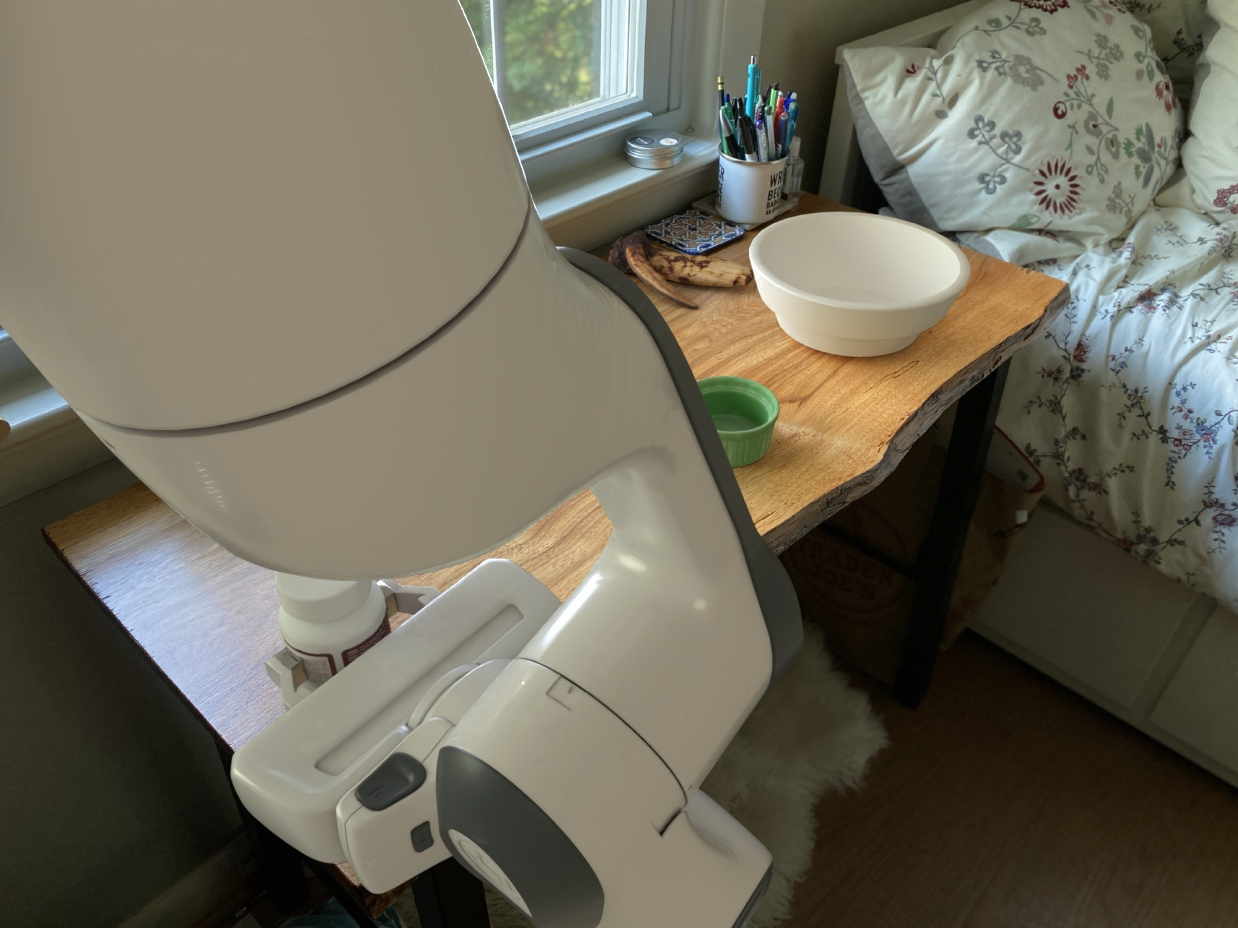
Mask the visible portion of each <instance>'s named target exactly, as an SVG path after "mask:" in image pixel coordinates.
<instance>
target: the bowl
mask: <svg viewBox="0 0 1238 928" xmlns="http://www.w3.org/2000/svg"><path fill="white" fill-rule="evenodd" d="M748 254H749V255H748V257H749V261H750V265H751V269H752V270H753V273H754V280H755V284H756V287H757V290H758V293H759V295H760V299H761V300H762V302H763V303H764V304H765V305H766V306H767V308H768V309H769V310H770V311H772V312H773V313H774V315H775V318H776V320H777V322H778V325H779V327H780V328H781V329H782V331H783V332H784V333H785V334H786V335H788V337H790V338H791V339H792V340H794V341H795V342H798V343H799V344H801V345H803V346H805V347H808V348H811V349H813V350H816V351H819V352H823V353H826V354H831V355H837V356H842V357H854V358H855V357H857V358H865V357H866V358H867V357H879V356H884V355H889V354H892V353H896V352H899V351H901V350H903V349H905V348H907V347H909V346H910V345H911V344H912V343H914V342H915V341H916V340H917V338H918V337H919V336H920V334H921V333H922V332H925V331H927V330H928V329H930V328H932V327H934V326H936V325H937V324H938V323H939V322H941V320H942V319H944V318H945V316H946V315H947V313H948V312H949V311H950V309H951V308H952V306H953V305H954V303H955V302H956V301H957V299H958V298H959V296H960V295H961V294H962V292H963V290H964V289H965V287H966V286H967V284H968V282H969V280H970V278H971V264H970V262H969V260H968V257H967V255H966V254H965V252H963V251H962V249H961V248H960V247H959V246H958V245H957V244H955V243H954V242H953V241H951V240H950V239H949V238H948V237H946V236H944V235H942V234H940V233H938V232H937V231H934V230H933V229H930V228H927V227H925V226H924V225H923V226H922V225H920V224H917V223H916V222H915V223H914V222H911V221H908V220H904V219H901V218H896V217H892V216H886V215H883V214H882V215H881V214H876V213H875V214H874V213H866V212H858V211H855V212H854V211H826V212H825V211H823V212H821V211H820V212H814V213H806V214H800V215H796V216H791V217H788V218H784V219H782V220H779V221H777V222H774V223H772V224H770V225H768V226H767V227H765V228H763V229H762V230H760V232H759V233H757V235H756V236H754V238H753V239H752V241H751V244H750V245H749V248H748Z"/></svg>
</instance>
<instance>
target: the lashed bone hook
mask: <svg viewBox="0 0 1238 928" xmlns="http://www.w3.org/2000/svg"><path fill="white" fill-rule="evenodd" d="M612 246H613V248H612V249H611V250H609V256H608V260H607V262H608V263H609V264H611V265H613V266H614V267H616V268H617V269H618V270H620V271H621V272H622V273H624V274H626V273H628V274H633V275H637V277H638V278H640V280H641V281H643V283H645V284H646V285H648V287H650V288H652V289H653V290H654V291H656V292H657V293H659V295H662V296H663V297H665V298H666V299H667V300H670V301H671V302H673V303H675V304H678V305H679V306H682V307H685V308H688V309H693V310H694V309H695V310H696V309H699V308H700V307H699V305H698V304H697V303H695V302H694V301H692V300H691V299H690V298H688V297H686V296H685V295H684V294H683V293H681V292H680V291H679V290H677V289H676V288H675V287H674V286H672V285H671V284H670V283H669V282H668V281H667V280H669V281H672V282H676V283H681V284H688V285H696V286H701V287H723V288H724V287H725V288H735V287H736V285H737V284H739V285H740V287H742V288H746V287H747V286H749V285H750V284H751V282H752V281H753V280H755V276H754V273H753V269H752V267H749V266H748V265H746V264H744V263H741V262H737V261H733V260H728V259H724V258H718V257H715V256H707V255H702V254H696V255H694V254H693V255H692V254H685V253H681V252H675V251H666V250H665V249H663V248H660V247H653V245H652V243H651V242H650V240H649V239H648V238H647V234H646V232H645V231H644V230H642V229H638V230H635V231H634V232H633V233H631V234H630V235H625V236H620V237H618V238H617V239H616V240H615V241H614V242H612Z"/></svg>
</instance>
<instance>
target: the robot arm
mask: <svg viewBox="0 0 1238 928" xmlns="http://www.w3.org/2000/svg"><path fill="white" fill-rule="evenodd" d="M0 326H1V327H2V329H3V330H4V331H5V332H6V333H7V335H8V336H9V337H10V338H11V339H12V340H13V342H14V343H15V344H16V345H17V347H19V349H20V350H21V351H22V352H23V354H24V355H25V356H26V357H27V358H28V359H29V361H30V362H31V363H32V364H33V365H34V367H35V368H36V369H37V370H38V371H39V372H40V373H41V375H42V376H43V377H44V378H45V379H46V380H47V382H48V383H49V384H50V386H52V388H54V390H55V391H56V392H57V394H59V396H60V397H61V398H62V399H64V400H65V402H66V403H67V404H68V406H70V407H71V409H72V410H73V412H74V413H76V415H77V416H78V417H79V418H80V419H81V420H82V422H83V423H84V425H86V426H87V427H88V428H89V429H90V431H92V432H93V434H94V435H95V436H96V437H97V438H98V439H99V440H100V441H101V443H103V444H104V445H105V446H106V448H107V449H109V450H110V451H111V453H112V454H113V455H114V456H115V457H116V458H117V459H118V460H119V461H120V462H121V463H122V464H123V465H124V466H125V467H126V468H127V469H128V470H129V471H131V472H132V473H133V474H134V475H135V476H136V477H137V478H138V479H139V480H140V481H141V482H142V483H143V484H144V485H145V486H146V487H147V488H149V489H150V490H151V491H152V492H153V493H154V494H155V495H156V496H157V497H158V498H160V499H161V500H162V501H163V502H164V503H165V504H166V505H168V506H169V507H170V508H171V509H172V510H174V511H175V512H176V513H177V514H178V515H179V516H181V518H183V519H184V520H185V521H187V522H188V523H189V524H190V525H192V526H193V527H194V528H195V529H196V530H198V531H199V532H200V533H202V534H203V535H204V536H206V537H207V538H209V539H210V540H211V541H212V542H214V544H216V545H217V546H219V547H220V548H222V549H223V550H225V551H226V552H228V553H229V554H231V555H233V556H235V557H237V558H239V559H240V560H243V561H245V562H248V563H250V564H252V565H255V566H258V567H261V568H263V569H267V570H272V571H274V572H276V571H278V572H282V573H287V574H292V575H296V576H301V577H307V578H314V579H322V580H333V581H372V580H374V581H375V582H376V583H377V584H378V585H379V587H380V588H381V590H382V592H383V595H384V599H385V602H386V607H387V613H388V618H389V619H390V618H392V617H393V616H394V615H396V614H398V613H401V614H407V615H411V616H410V617H409V618H408V619H406V620H405V621H403V622H402V623H401V624H399V625H398V626H397V627H395V628H394V629H393V630H391V633H389V634H388V635H387V636H386V637H384V638H383V639H382V640H380V641H379V642H378V643H376V644H375V645H374V646H372V647H371V648H370V649H369V650H367V651H366V652H365V653H363V654H362V655H361V656H359V657H358V658H357V659H355V660H354V661H353V662H352V663H350V664H349V665H348V666H346V667H345V668H344V669H342V670H341V671H340V672H338V673H337V674H336V675H335V676H333V677H332V678H331V679H329V680H328V681H327V682H325V683H324V684H323V685H321V686H320V687H319V688H318V689H316V690H315V691H314V692H312V691H310V690H309V689H308V688H306V687H305V686H303V687H301V688H298V687H299V686H300V685H301V684H303V683H304V682H305V681H306V680H308V675H307V672H306V671H305V670H304V667H305V666H304V663H303V660H302V659H301V658H300V657H299V656H297V655H295V654H292V653H291V651H290V650H289V648H287V647H286V646H285V647H284V648H283V649H281V650H280V651H278V652H277V653H275V654H274V655H272V656H271V657H270V658H269V659H267V660H265V661H264V666H265V669H266V672H267V675H268V677H269V679H270V680H271V681H272V682H273V683H274V684H275V685H276V686H277V687H279V688H280V691H281V699H282V704H283V706H284V708H285V711H286V712H284V713H283V714H282V715H281V716H279V717H278V718H277V719H276V720H274V721H273V722H272V723H270V724H269V725H268V726H267V727H265V728H263V730H260V732H258V733H257V734H256V735H254V736H253V737H252V738H251V739H249V740H248V741H247V742H245V743H244V744H242V745H241V746H240V747H239V748H237V749H236V750H235V752H234V753H233V754H232V758H231V762H230V779H231V782H232V785H233V788H234V790H235V792H236V795H237V796H238V798H239V800H240V802H241V804H242V805H243V806H244V808H245V809H246V810H247V811H248V812H249V813H250V814H251V815H252V816H253V817H254V818H255V819H256V820H257V821H258V822H259V823H261V824H262V825H263V826H264V827H265V828H267V829H268V830H269V831H270V832H272V833H273V834H274V835H275V836H277V837H278V838H280V839H281V840H282V841H284V842H285V843H286V844H288V845H289V846H291V847H293V848H294V849H296V850H298V851H299V852H300V853H302V854H304V855H305V856H307V857H309V858H310V859H313V860H315V861H318V862H322V863H326V864H343V863H347V864H348V865H349V867H350V869H351V871H352V873H353V874H354V876H355V877H356V879H357V880H358V881H359V883H360V884H361V885H362V886H363V887H364V888H365V889H366V890H367V891H368V892H370V893H371V894H375V895H380V894H384V893H387V892H389V891H391V890H393V889H395V888H397V887H399V886H400V885H402V884H403V883H405V882H407V881H409V880H411V879H412V878H414V877H416V876H418V875H419V874H421V873H423V872H425V871H427V870H428V869H430V868H432V867H433V866H436V865H437V864H439V863H442V862H443V861H445V860H447V859H449V858H451V857H453V858H454V859H455V860H456V862H458V863H459V864H460V865H461V866H462V867H463V868H464V869H465V870H467V872H469V873H470V874H472V875H473V876H474V877H475V878H477V880H480V881H481V882H482V883H484V884H485V885H486V886H487V887H488V888H489V889H491V890H492V891H494V892H495V893H496V894H498V895H499V896H500V897H501V898H503V900H505V901H506V902H507V903H508V904H509V905H511V906H512V907H513V908H515V909H516V911H518V912H519V913H521V915H523V916H524V917H525V918H526V919H527V920H528V921H529V922H531V923H532V924H533V925H534V926H535V927H536V928H746V927H747V925H748V924H749V922H750V920H751V919H752V917H753V915H754V914H755V912H756V911H757V909H758V907H759V905H760V903H761V902H762V900H763V899H764V897H765V896H766V894H767V892H768V890H769V887H770V885H771V881H772V879H773V866H774V857H773V854H772V853H771V852H770V850H768V848H766V846H765V844H763V843H762V842H761V841H760V840H759V839H758V838H757V837H756V836H755V835H753V833H751V831H750V830H749V829H748V828H746V827H745V826H744V825H743V824H742V823H741V822H740V821H738V820H737V819H736V818H735V817H733V816H732V814H730V813H729V812H728V811H727V810H726V809H724V807H722V806H721V805H720V804H719V803H718V802H717V801H716V800H714V799H713V798H712V797H710V796H709V795H708V794H707V793H706V792H704V791H703V790H702V789H700V786H702V784H703V783H704V781H705V780H706V778H707V777H708V775H709V774H710V773H711V771H712V769H713V768H714V766H715V765H716V764H717V762H718V761H719V760H720V758H721V757H722V755H723V754H724V752H725V751H726V749H727V748H728V746H729V745H730V743H731V742H732V741H733V739H734V738H735V737H736V735H737V733H738V732H739V731H740V729H741V728H742V726H743V725H744V724H745V722H746V720H747V719H748V718H749V716H750V715H751V713H752V712H753V711H754V709H755V708H756V707H757V706H758V705H759V704H761V703H762V701H763V700H764V699H765V698H766V697H767V695H768V694H770V692H771V691H772V690H773V688H774V687H775V686H776V685H777V683H778V682H779V681H780V680H781V679H782V677H784V675H785V674H786V672H787V671H788V670H790V668H791V667H792V665H794V663H795V662H796V660H797V659H798V658H799V656H800V655H801V653H802V650H803V646H804V641H805V640H804V639H805V635H804V626H803V625H804V624H803V617H802V611H801V606H800V601H799V598H798V595H797V592H796V588H795V586H794V584H793V581H792V579H791V577H790V575H789V573H788V571H787V569H786V567H785V566H784V565H783V563H782V561H781V560H780V559H779V557H778V555H777V554H776V553H775V552H774V550H773V549H772V548H771V546H770V545H769V544H768V543H767V541H766V540H765V539H764V538H763V536H762V535H761V534H760V533H759V531H758V528H757V527H756V524H755V522H754V519H753V517H752V515H751V513H750V512H751V511H750V510H749V507H748V504H747V502H746V500H745V498H744V494H743V493H742V489H741V487H740V484H739V482H738V480H737V477H736V475H735V472H734V470H733V467H731V465H730V462H729V460H728V457H727V455H726V452H725V450H724V447H723V445H722V442H721V439H720V437H719V434H718V432H717V429H716V427H715V425H714V422H713V420H712V417H711V415H710V412H709V410H708V407H707V405H706V402H705V400H704V398H703V395H702V393H701V391H700V388H699V386H698V384H697V381H698V380H697V378H696V377H695V375H694V372H693V370H692V368H691V366H690V364H689V362H688V360H687V357H686V356H685V354H684V351H683V349H682V348H681V346H680V344H679V342H678V340H677V338H676V336H675V335H674V333H673V331H672V329H671V327H670V326H669V325H668V322H667V321H666V319H665V318H664V317H663V315H662V314H661V312H660V311H659V309H658V308H657V306H656V305H655V304H654V302H653V301H652V300H651V299H650V298H649V296H647V294H646V293H645V292H644V291H643V289H642V288H640V287H639V285H638V284H636V282H635V281H634V280H632V279H631V278H630V277H629V276H628V275H626V273H622V272H621V271H620V270H619V269H618V268H616V267H615V266H613V265H611V264H609V263H608V261H606V260H604V259H602V258H600V257H598V256H596V255H594V254H591V253H588V252H586V251H583V250H580V249H576V248H572V247H567V246H556V245H555V243H554V242H553V240H552V238H551V237H550V235H549V233H548V232H547V229H546V227H545V226H544V224H543V221H542V219H541V217H540V215H539V211H538V209H537V207H536V205H535V202H534V199H533V196H532V193H531V190H530V187H529V185H528V182H527V178H526V174H525V171H524V168H523V165H522V161H521V159H520V155H519V153H518V150H517V146H516V144H515V141H514V139H513V135H512V132H511V130H510V126H509V124H508V121H507V118H506V115H505V111H504V109H503V106H502V103H501V101H500V98H499V96H498V94H497V91H496V88H495V85H494V82H493V80H492V77H491V75H490V72H489V70H488V67H487V65H486V63H485V60H484V57H483V54H482V52H481V50H480V47H479V45H478V42H477V39H476V37H475V35H474V31H473V28H472V27H471V24H470V22H469V20H468V18H467V15H466V13H465V11H464V8H463V7H462V5H461V2H460V0H0ZM587 489H589V490H590V492H591V493H592V495H593V496H594V497H595V500H596V502H597V503H598V504H599V505H600V508H602V510H603V512H604V513H605V515H606V517H607V518H608V519H609V521H610V523H611V524H612V529H611V533H610V534H609V537H608V540H607V542H606V543H605V545H604V547H603V549H602V551H601V553H600V555H598V557H597V559H596V561H595V562H594V564H593V566H592V567H591V568H590V570H589V571H588V572H587V573H586V575H585V577H584V578H583V579H582V580H581V581H580V582H579V583H578V584H577V586H576V587H575V588H574V590H573V591H571V593H570V594H569V595H568V596H567V597H566V599H565V600H564V601H562V600H561V599H560V598H559V597H558V596H557V595H556V594H555V593H554V592H553V591H552V590H551V589H550V588H549V587H547V586H546V585H545V584H544V583H543V582H542V581H541V580H539V579H538V578H537V577H536V576H534V575H533V574H532V573H531V572H529V571H528V570H527V569H525V568H524V567H522V566H521V565H519V564H518V563H517V562H515V561H514V560H511V559H509V558H507V557H505V558H504V557H490V558H487V559H485V560H483V561H481V563H480V564H478V565H477V566H476V567H475V568H473V569H472V570H470V571H469V572H468V573H466V574H465V575H464V576H463V577H461V578H460V579H459V580H457V581H456V582H455V583H453V584H452V585H451V586H450V587H448V588H447V589H445V591H443V592H442V591H440V590H439V589H437V588H435V587H434V586H424V585H423V586H422V585H420V586H419V585H406V584H404V585H401V584H399V583H398V582H397V581H395V580H396V579H402V578H410V577H416V576H421V575H426V574H427V575H428V574H430V573H434V572H439V571H443V570H445V569H450V568H453V567H456V566H459V565H462V564H465V563H468V562H470V561H473V560H475V559H479V558H480V557H483V556H485V555H488V554H489V553H492V552H493V551H495V550H497V549H500V548H502V547H503V546H505V545H507V544H508V543H510V542H512V541H514V540H515V539H517V538H518V537H520V536H521V535H522V534H524V533H525V532H527V531H528V530H530V529H531V528H533V527H534V526H535V525H537V524H538V523H539V522H541V521H542V520H544V519H545V518H546V517H548V516H549V515H550V514H552V513H553V512H556V511H557V510H558V509H559V508H561V507H562V506H563V505H565V504H567V503H568V502H569V501H570V500H572V499H573V498H575V497H577V496H579V495H580V494H581V493H583V492H584V491H586V490H587Z"/></svg>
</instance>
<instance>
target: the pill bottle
mask: <svg viewBox="0 0 1238 928" xmlns="http://www.w3.org/2000/svg"><path fill="white" fill-rule="evenodd" d="M274 573H275V574H274V582H275V586H276V591H277V594H278V595H277V596H278V599H279V603H280V606H279V610H278V627H279V630H280V633H281V636H282V638H283V639H282V640H283V642H284V643H283V644H284V646H285V648H286V647H287V648H289V650H290V651H291V653H292V654H295V655H297V656H299V657H300V658H301V659H302V660H303V663H304V666H305V667H304V670H305V671H306V672H307V675H308V680H306V681H305V682H304V683H303V684H301V685H300V686H299V687H298V689H299V688H301V687H303V686H305V687H306V688H308V689H309V690H310V691H312V692H314V691H315V690H316V689H318V688H319V687H320V686H321V685H323V684H324V683H325V682H327V681H328V680H329V679H331V678H332V677H333V676H335V675H336V674H337V673H338V672H340V671H341V670H342V669H344V668H345V667H346V666H348V665H349V664H350V663H352V662H353V661H354V660H355V659H357V658H358V657H359V656H361V655H362V654H363V653H365V652H366V651H367V650H369V649H370V648H371V647H372V646H374V645H375V644H376V643H378V642H379V641H380V640H382V639H383V638H384V637H386V636H387V635H388V634H389V633H391V632H392V628H391V624H390V618H388V613H387V607H386V602H385V599H384V595H383V592H382V590H381V588H380V587H379V585H378V584H377V583H376V582H377V581H376V580H372V581H333V580H322V579H314V578H307V577H301V576H296V575H292V574H287V573H282V572H278V571H275V572H274Z"/></svg>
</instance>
